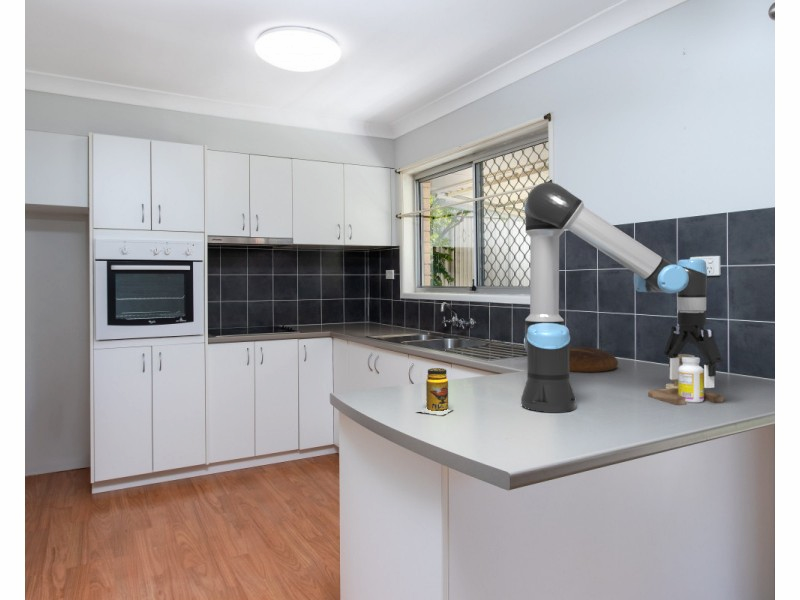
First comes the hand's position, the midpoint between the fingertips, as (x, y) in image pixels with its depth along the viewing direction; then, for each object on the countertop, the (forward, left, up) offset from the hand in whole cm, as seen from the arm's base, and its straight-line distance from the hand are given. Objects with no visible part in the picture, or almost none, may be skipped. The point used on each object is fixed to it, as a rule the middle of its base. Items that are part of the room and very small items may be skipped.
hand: (691, 383), depth 158 cm
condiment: (-77, +8, -6) cm, 78 cm away
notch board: (0, +2, -5) cm, 6 cm away
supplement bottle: (0, 0, -5) cm, 5 cm away
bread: (+3, +63, -6) cm, 63 cm away
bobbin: (+9, +14, -5) cm, 18 cm away
